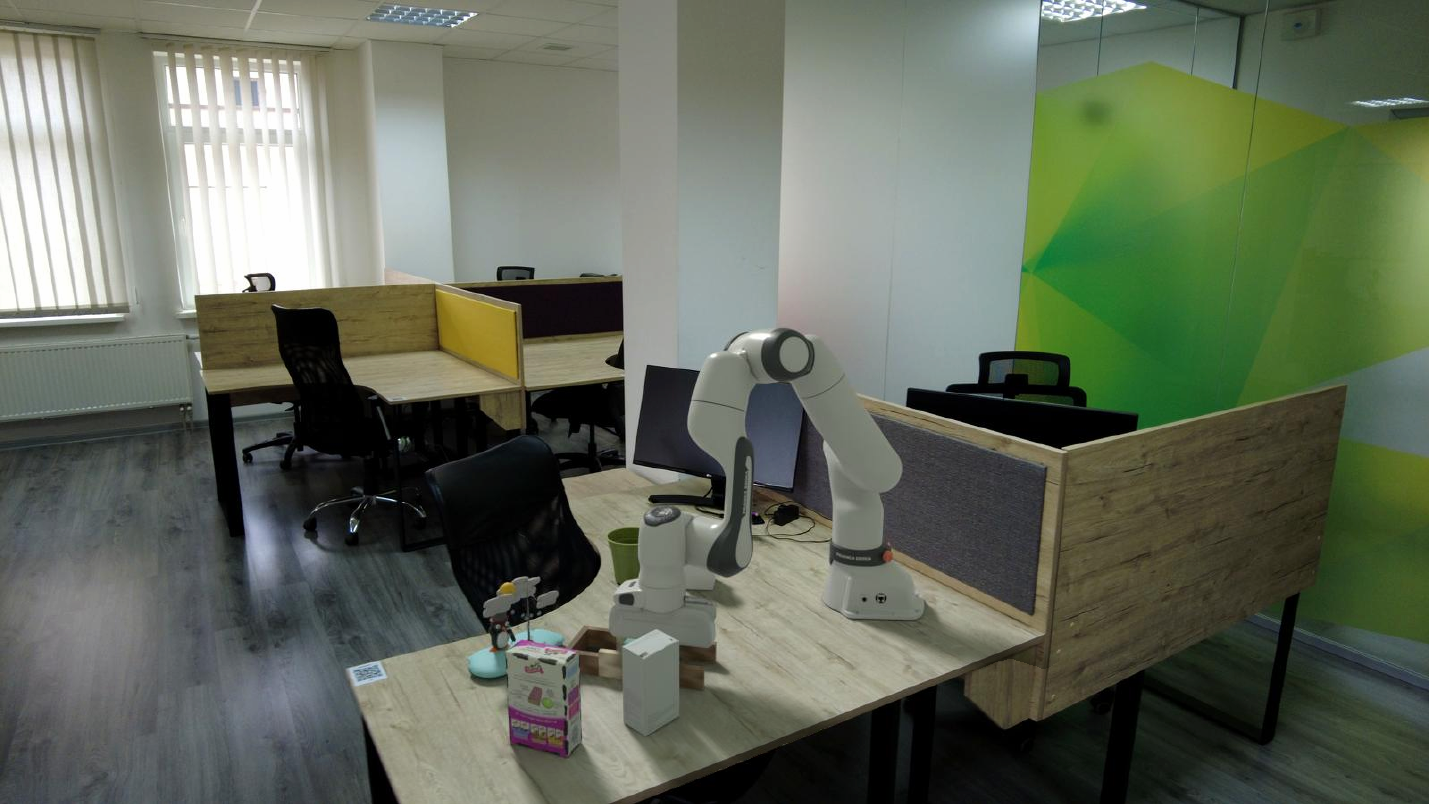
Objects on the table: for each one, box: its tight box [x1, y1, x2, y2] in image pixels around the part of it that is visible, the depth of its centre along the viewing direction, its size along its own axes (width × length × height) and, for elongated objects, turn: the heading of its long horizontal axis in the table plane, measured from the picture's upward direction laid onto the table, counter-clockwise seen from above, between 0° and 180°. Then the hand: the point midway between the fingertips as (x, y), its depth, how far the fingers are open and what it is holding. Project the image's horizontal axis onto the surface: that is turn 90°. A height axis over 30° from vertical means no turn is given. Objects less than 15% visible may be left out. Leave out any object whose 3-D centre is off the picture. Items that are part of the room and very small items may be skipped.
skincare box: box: [622, 629, 680, 737], centre depth 143 cm, size 8×6×15 cm
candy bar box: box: [505, 640, 583, 758], centre depth 137 cm, size 11×5×16 cm, turn 69°
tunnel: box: [565, 625, 717, 691], centre depth 162 cm, size 27×11×5 cm, turn 77°
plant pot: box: [605, 526, 640, 585], centre depth 200 cm, size 12×12×11 cm
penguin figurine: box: [466, 576, 565, 679], centre depth 164 cm, size 20×11×15 cm, turn 135°
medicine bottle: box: [684, 564, 717, 591], centre depth 198 cm, size 7×7×12 cm
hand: (662, 661), depth 161 cm, fingers closed
